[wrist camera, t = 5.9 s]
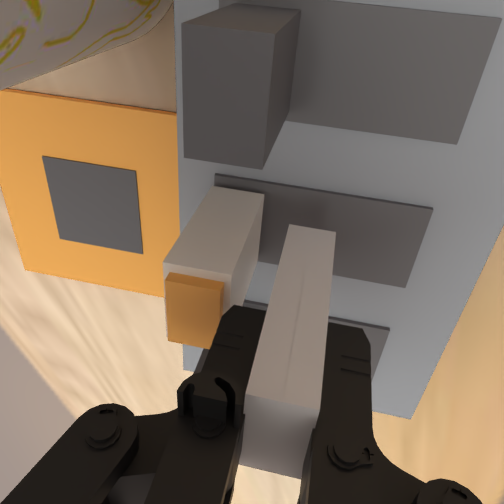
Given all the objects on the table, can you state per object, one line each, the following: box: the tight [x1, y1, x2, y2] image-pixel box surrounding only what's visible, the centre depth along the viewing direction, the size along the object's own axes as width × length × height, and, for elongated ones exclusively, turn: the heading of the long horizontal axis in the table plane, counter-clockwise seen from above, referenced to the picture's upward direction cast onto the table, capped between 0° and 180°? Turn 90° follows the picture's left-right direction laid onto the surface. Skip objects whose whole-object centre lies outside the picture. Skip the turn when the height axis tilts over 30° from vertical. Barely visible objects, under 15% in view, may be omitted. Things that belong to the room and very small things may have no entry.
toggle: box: [163, 186, 264, 349], centre depth 15 cm, size 3×2×5 cm, turn 176°
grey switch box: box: [174, 0, 504, 419], centre depth 17 cm, size 20×12×9 cm, turn 176°
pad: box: [0, 88, 180, 298], centre depth 23 cm, size 11×11×1 cm
